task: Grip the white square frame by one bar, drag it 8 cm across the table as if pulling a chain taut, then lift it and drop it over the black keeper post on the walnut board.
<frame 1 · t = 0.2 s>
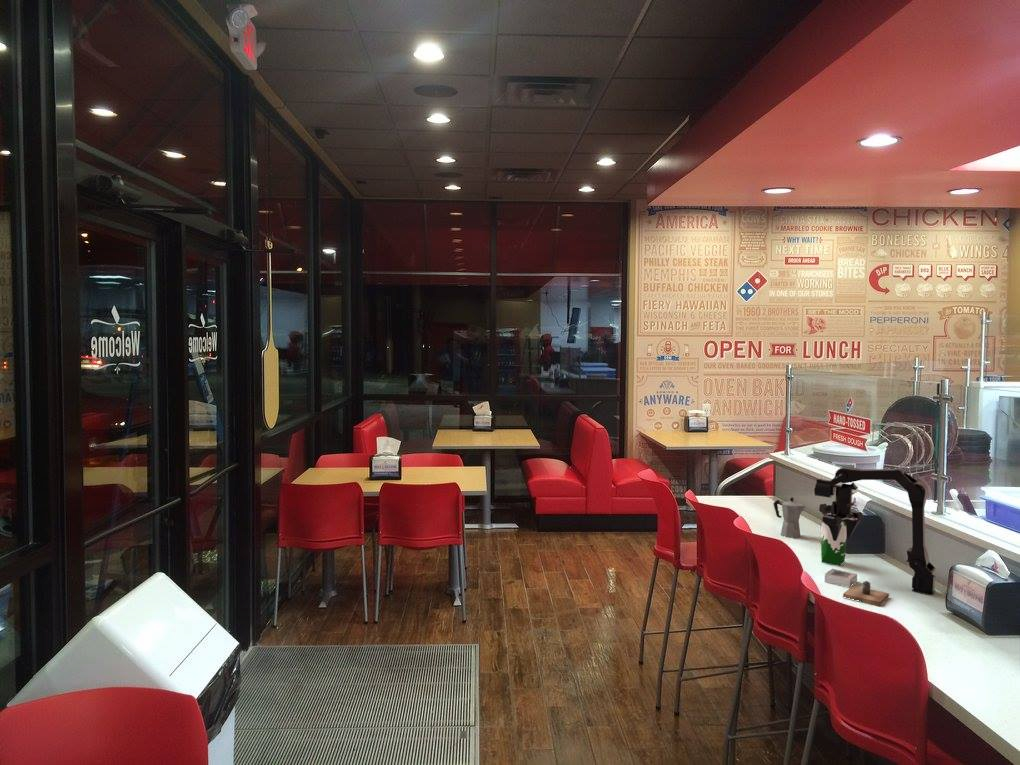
hand: (841, 539, 282), 14 cm above the table, tool pointing down, fingers open, 9 cm apart
milk carton: (832, 562, 300), on the table
white square frame: (840, 581, 275), on the table
coffeepot: (788, 535, 342), on the table
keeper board: (865, 597, 258), on the table
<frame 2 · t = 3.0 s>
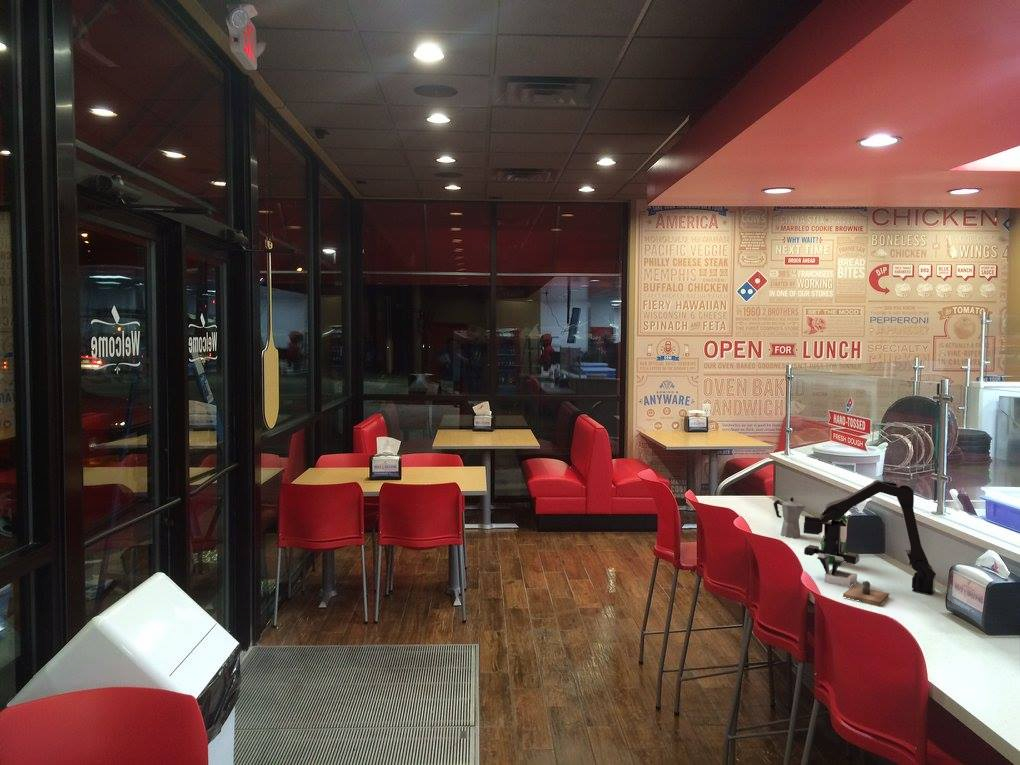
hand: (830, 576, 278), 1 cm above the table, tool pointing down, fingers closed on white square frame
white square frame: (840, 581, 275), on the table, touching gripper
everything else where it was.
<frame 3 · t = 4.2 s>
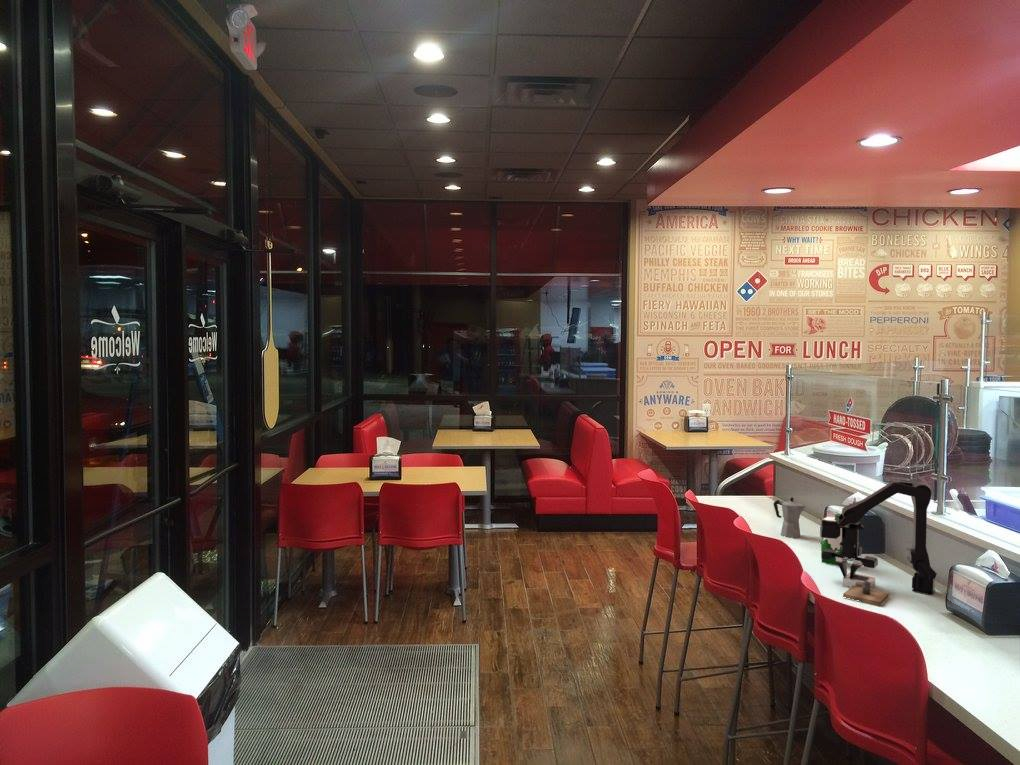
hand: (848, 580, 274), 1 cm above the table, tool pointing down, fingers closed on white square frame
white square frame: (858, 585, 271), on the table, touching gripper
everything else where it was.
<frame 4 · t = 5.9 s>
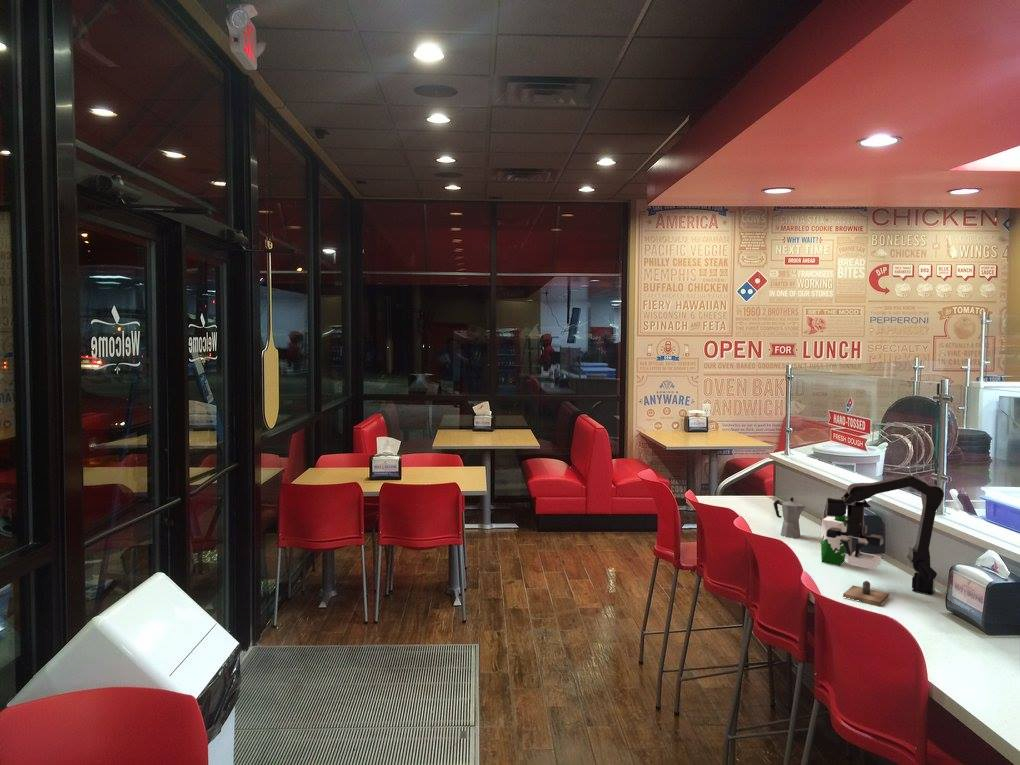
hand: (853, 559, 272), 10 cm above the table, tool pointing down, fingers closed on white square frame
white square frame: (863, 564, 270), point 9 cm above the table, touching gripper
everything else where it was.
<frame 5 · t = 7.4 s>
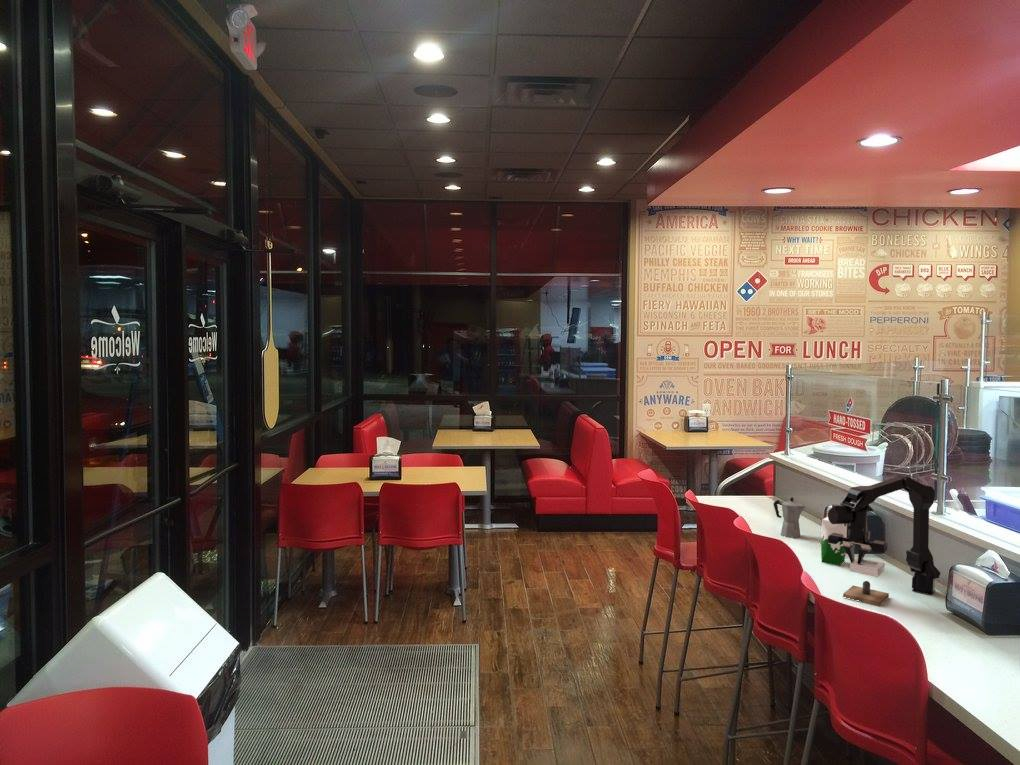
hand: (856, 566, 260), 11 cm above the table, tool pointing down, fingers closed on white square frame
white square frame: (867, 571, 258), point 10 cm above the table, touching gripper
everything else where it was.
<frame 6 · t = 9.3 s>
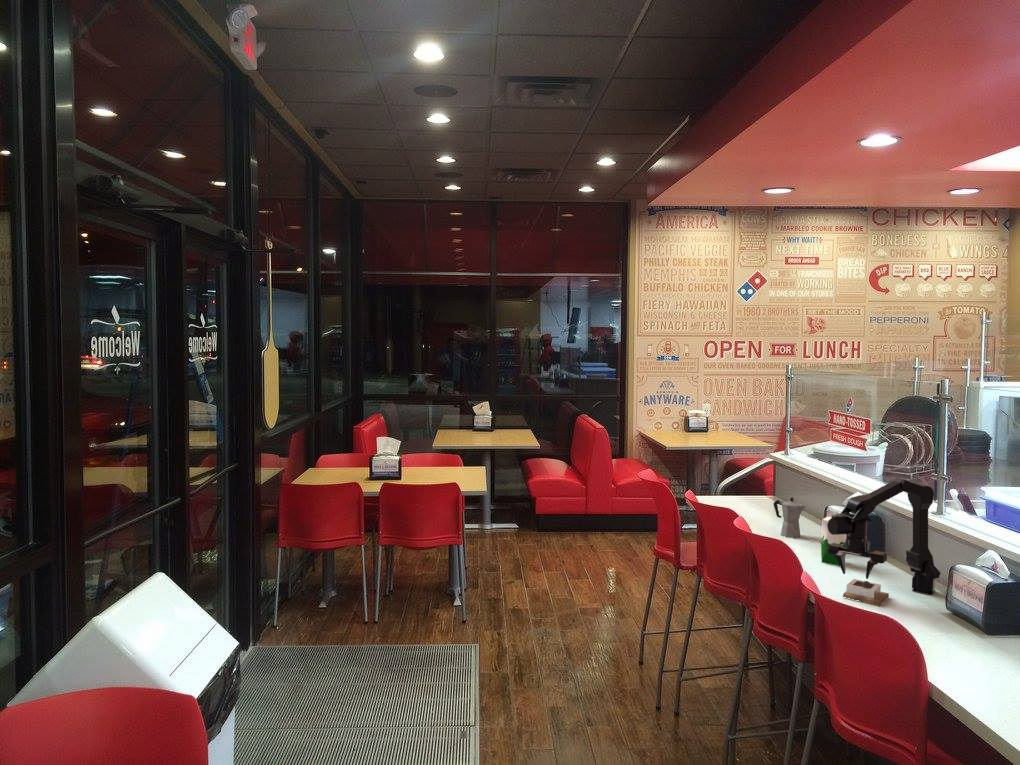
hand: (855, 576, 260), 7 cm above the table, tool pointing down, fingers open, 7 cm apart
white square frame: (863, 592, 259), point 1 cm above the table, touching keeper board
everything else where it was.
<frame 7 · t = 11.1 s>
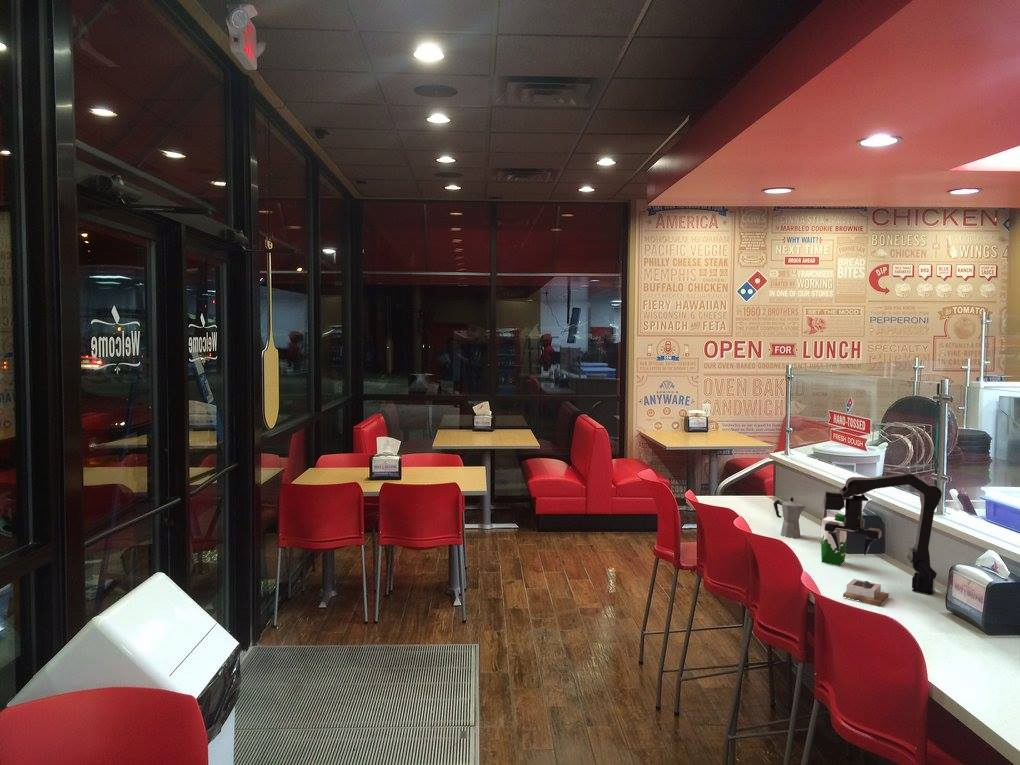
hand: (851, 552, 272), 12 cm above the table, tool pointing down, fingers open, 9 cm apart
nothing on the table moved.
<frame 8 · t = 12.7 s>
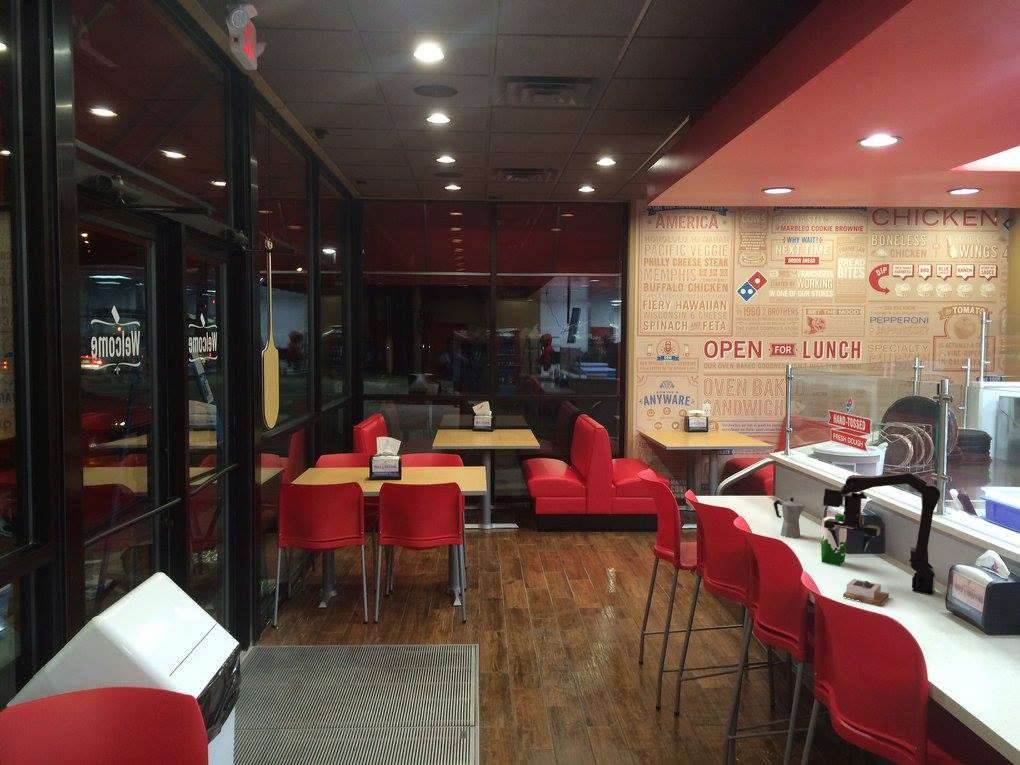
hand: (850, 549, 276), 12 cm above the table, tool pointing down, fingers open, 9 cm apart
nothing on the table moved.
at the end: white square frame 0.9 cm off-centre on the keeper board, point 1.5 cm above the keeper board's base; white square frame tilted 0°; the gripper is holding nothing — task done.
